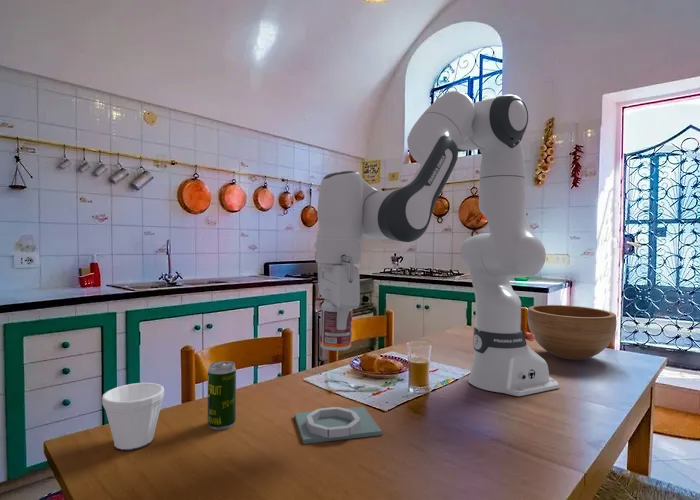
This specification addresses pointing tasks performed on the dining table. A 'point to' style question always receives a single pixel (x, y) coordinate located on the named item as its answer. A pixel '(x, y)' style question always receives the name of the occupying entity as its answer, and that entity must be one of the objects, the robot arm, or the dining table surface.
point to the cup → (133, 413)
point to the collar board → (336, 424)
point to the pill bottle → (333, 327)
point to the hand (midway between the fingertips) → (336, 325)
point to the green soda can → (221, 395)
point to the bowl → (571, 330)
